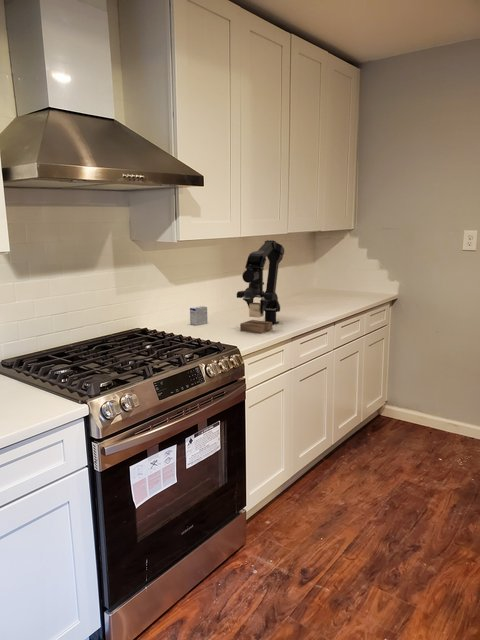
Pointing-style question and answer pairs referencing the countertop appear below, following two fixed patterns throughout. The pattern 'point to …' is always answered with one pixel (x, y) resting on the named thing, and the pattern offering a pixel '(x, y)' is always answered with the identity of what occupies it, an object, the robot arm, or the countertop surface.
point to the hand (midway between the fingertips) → (256, 313)
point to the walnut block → (256, 326)
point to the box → (198, 315)
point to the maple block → (255, 310)
